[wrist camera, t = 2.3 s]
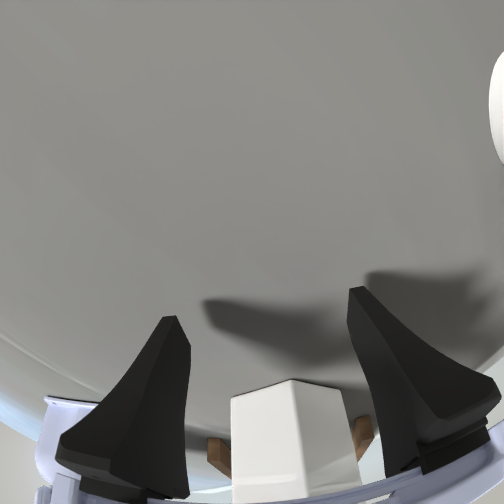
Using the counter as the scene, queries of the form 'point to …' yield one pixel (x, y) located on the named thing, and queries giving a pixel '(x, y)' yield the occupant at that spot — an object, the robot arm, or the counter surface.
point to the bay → (222, 455)
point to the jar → (291, 444)
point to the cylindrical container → (497, 106)
